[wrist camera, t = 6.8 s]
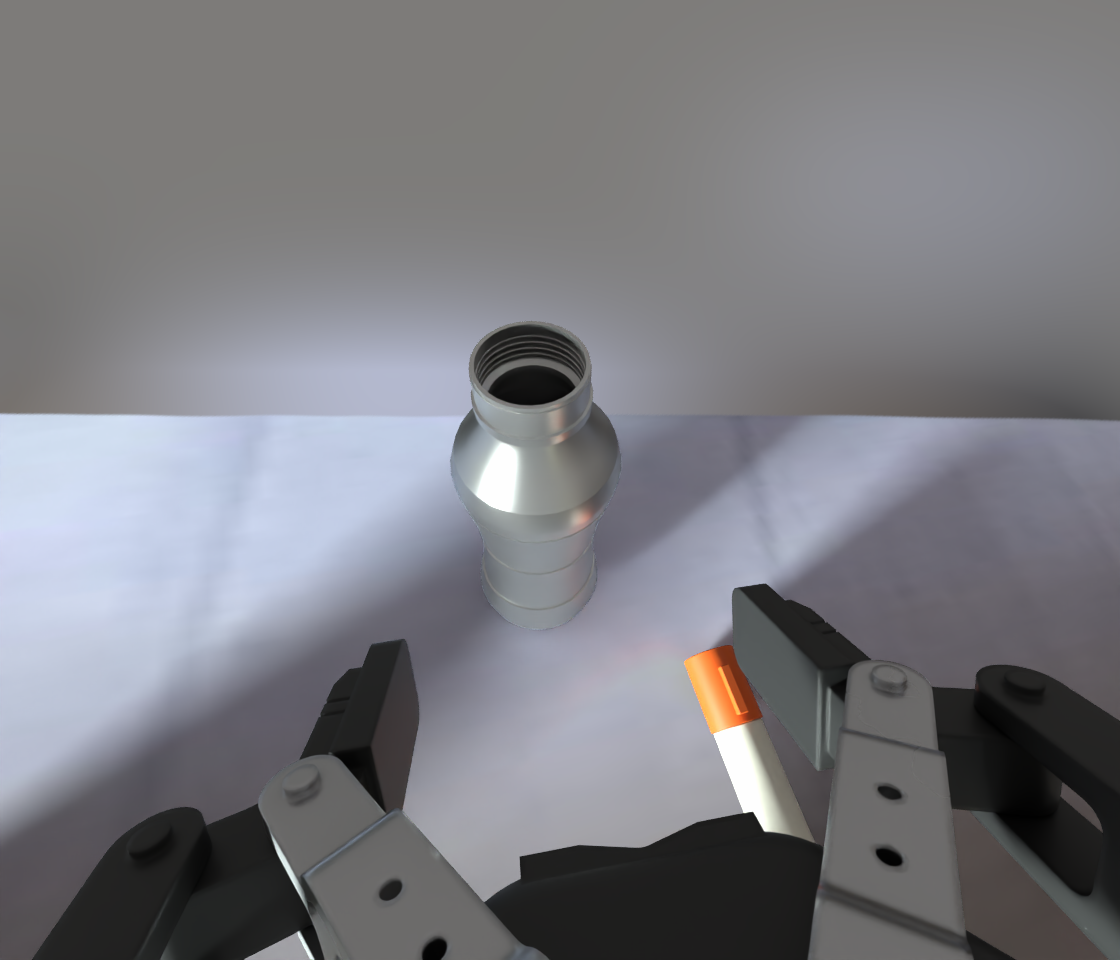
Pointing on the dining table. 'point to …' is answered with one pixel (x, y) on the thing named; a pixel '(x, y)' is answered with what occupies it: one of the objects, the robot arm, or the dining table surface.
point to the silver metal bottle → (535, 471)
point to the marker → (745, 742)
